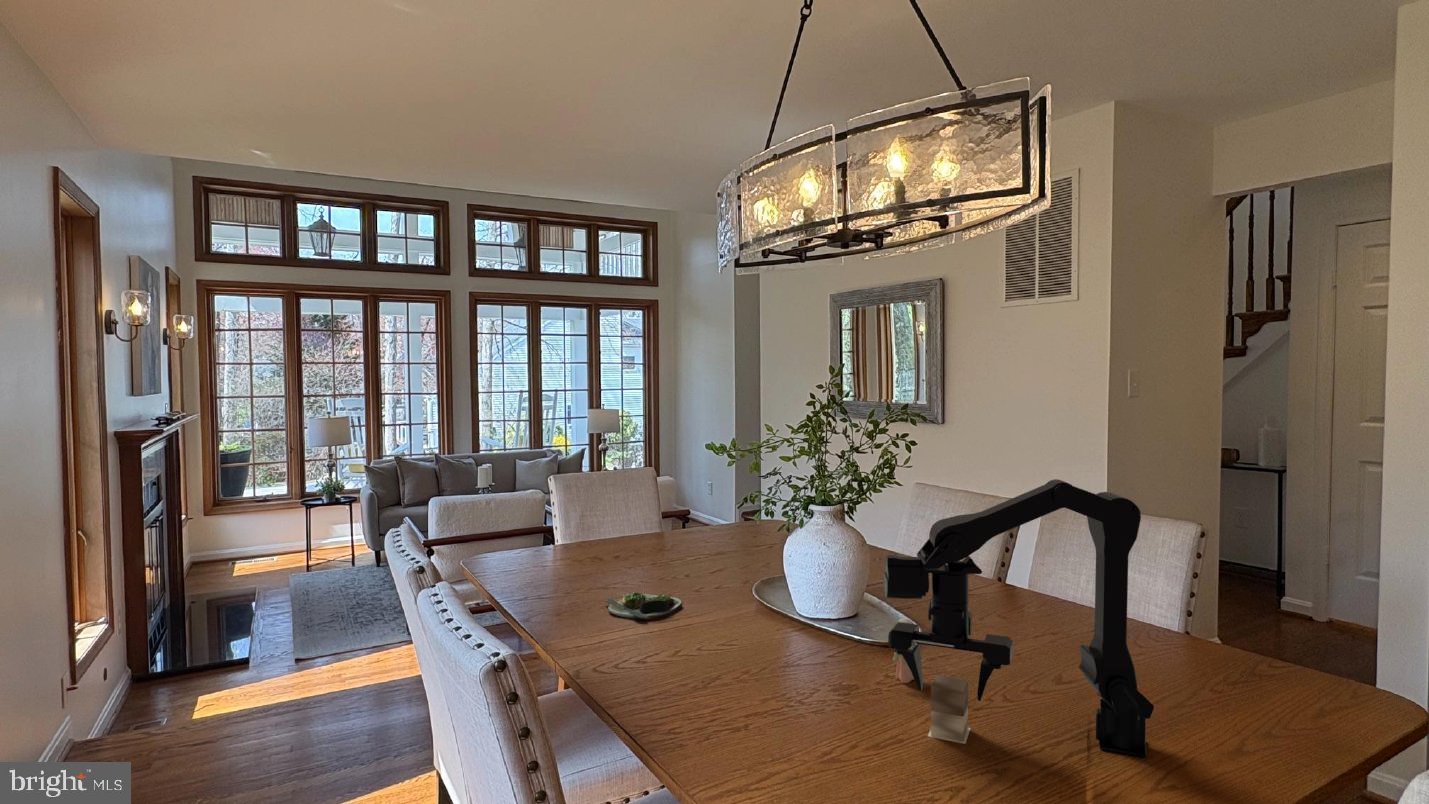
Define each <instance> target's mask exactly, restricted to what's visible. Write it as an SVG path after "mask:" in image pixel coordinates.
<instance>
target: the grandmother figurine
mask: <svg viewBox="0 0 1429 804" xmlns="http://www.w3.org/2000/svg"><path fill="white" fill-rule="evenodd" d="M898 622H902V623H909V624H915V623H914V622H913V620H911V619H910V618H907V617H904V618H900V619H899V620H898V621H897V623H898ZM896 650H897V649H894V654H893V658H892V660H893V663H896V670H895V679H896V680H899V681H900V682H901V684H908V683H910V682H912V680H913V681H915V680H914V677H913V675H912V673H911V670H910V668H909V666H908V665H907V663H906V661H905V659H904V658H903V656H902V655H901V654H897V652H896Z"/></svg>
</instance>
